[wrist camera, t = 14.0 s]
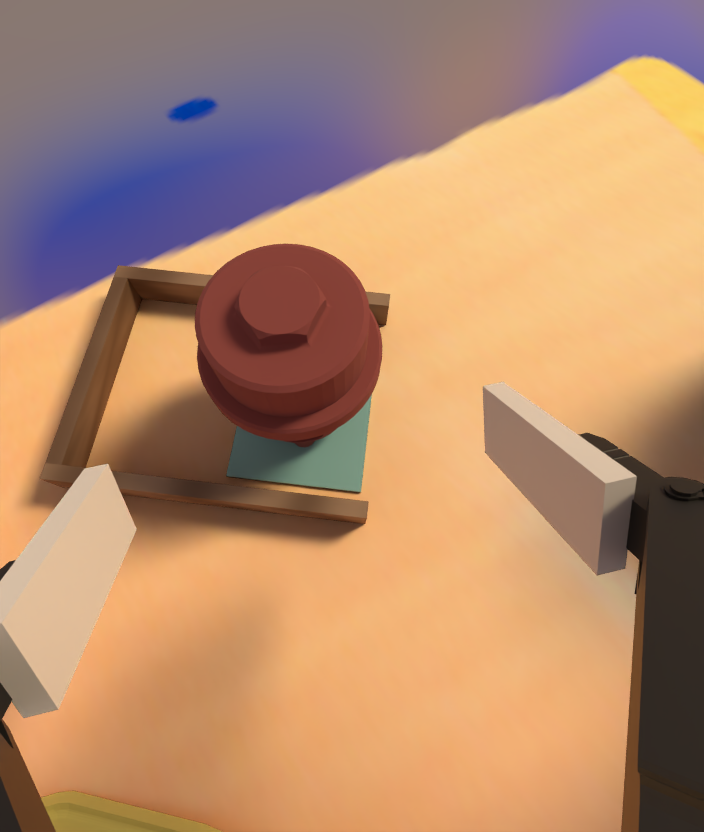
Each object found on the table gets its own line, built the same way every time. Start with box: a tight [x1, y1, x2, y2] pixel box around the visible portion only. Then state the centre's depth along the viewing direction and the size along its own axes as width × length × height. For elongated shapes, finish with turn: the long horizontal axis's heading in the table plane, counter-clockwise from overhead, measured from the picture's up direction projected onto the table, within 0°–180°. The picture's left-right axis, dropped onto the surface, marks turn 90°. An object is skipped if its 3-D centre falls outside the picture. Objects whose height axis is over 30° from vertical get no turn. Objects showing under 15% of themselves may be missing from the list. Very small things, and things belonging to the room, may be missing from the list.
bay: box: [40, 265, 390, 524], centre depth 32 cm, size 20×16×2 cm
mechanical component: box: [195, 244, 382, 447], centre depth 27 cm, size 12×10×10 cm
